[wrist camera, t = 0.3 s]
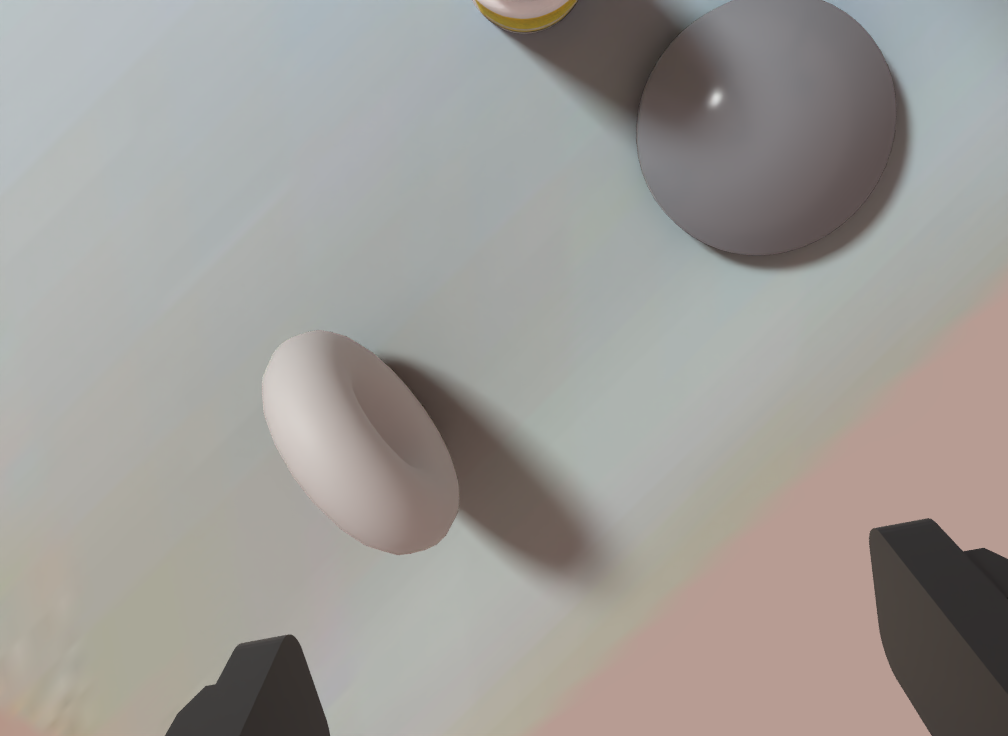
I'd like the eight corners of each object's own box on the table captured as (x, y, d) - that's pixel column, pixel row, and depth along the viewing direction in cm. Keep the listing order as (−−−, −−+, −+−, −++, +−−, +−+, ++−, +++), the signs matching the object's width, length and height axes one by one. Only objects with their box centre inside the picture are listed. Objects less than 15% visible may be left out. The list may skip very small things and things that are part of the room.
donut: (484, 460, 40) (468, 570, 31) (426, 501, 41) (392, 621, 31) (343, 290, 38) (278, 351, 29) (284, 336, 39) (202, 411, 29)
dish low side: (615, 30, 35) (617, 27, 34) (870, -33, 34) (882, -38, 33) (659, 273, 37) (663, 278, 36) (896, 221, 36) (908, 225, 35)
